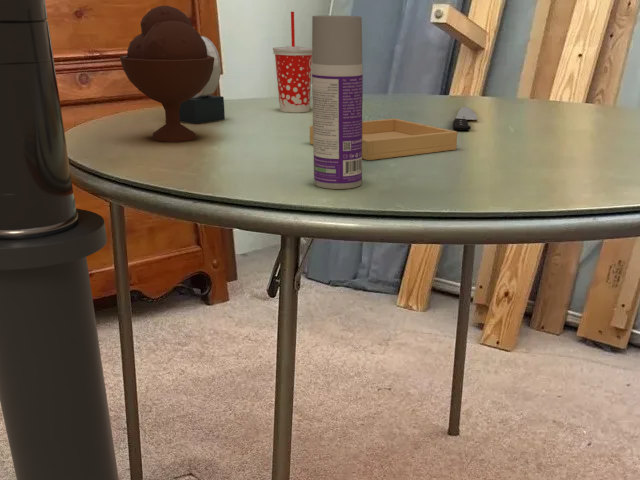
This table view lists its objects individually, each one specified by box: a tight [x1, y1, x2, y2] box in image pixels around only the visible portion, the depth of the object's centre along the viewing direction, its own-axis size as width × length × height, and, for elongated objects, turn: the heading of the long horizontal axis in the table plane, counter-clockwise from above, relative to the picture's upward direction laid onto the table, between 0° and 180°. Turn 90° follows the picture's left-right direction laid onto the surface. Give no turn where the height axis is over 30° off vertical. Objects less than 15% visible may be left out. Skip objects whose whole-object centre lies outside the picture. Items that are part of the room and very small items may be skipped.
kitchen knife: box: [452, 106, 478, 131], centre depth 118 cm, size 23×3×1 cm, turn 171°
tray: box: [309, 118, 458, 161], centre depth 96 cm, size 13×12×2 cm
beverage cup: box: [272, 11, 312, 113], centre depth 120 cm, size 6×6×14 cm
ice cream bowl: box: [119, 5, 214, 143], centre depth 96 cm, size 11×11×15 cm
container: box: [311, 14, 364, 190], centre depth 74 cm, size 5×5×15 cm
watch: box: [179, 35, 226, 125], centre depth 110 cm, size 6×8×11 cm
